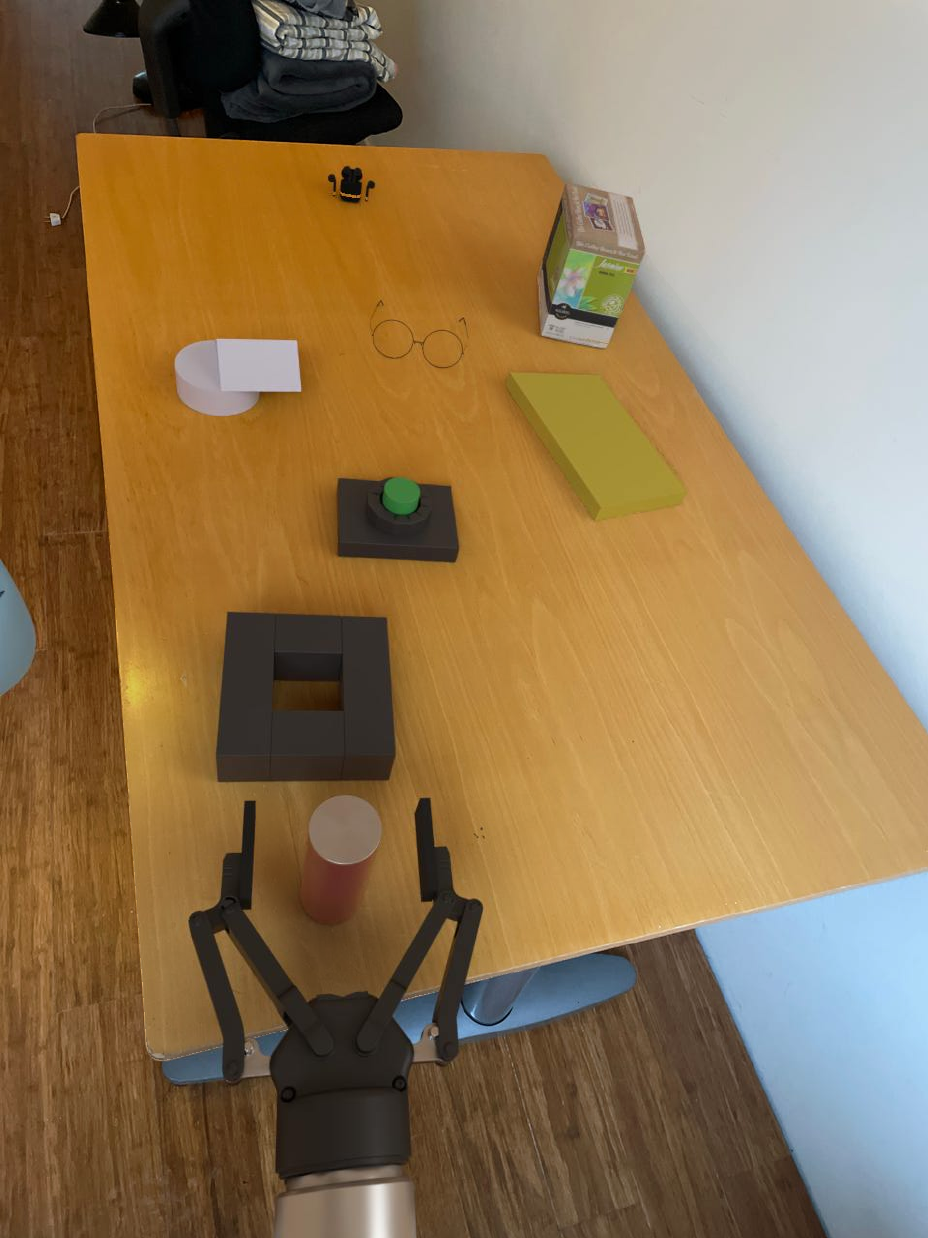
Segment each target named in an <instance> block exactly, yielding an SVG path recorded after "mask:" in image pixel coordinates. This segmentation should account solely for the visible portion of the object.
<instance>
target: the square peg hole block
mask: <svg viewBox="0 0 928 1238" xmlns="http://www.w3.org/2000/svg"><path fill="white" fill-rule="evenodd" d="M225 624H226V625H225V637H224V646H223V647H224V648H223V649H224V650H223V660H222V661H223V663H222V672H221V673H222V674H221V685H220V686H221V687H220V698H219V699H220V700H219V712H218V723H217V726H218V727H217V734H216V735H217V736H216V749H215V750H216V751H215V762H216V774H217V782H218V783H256V782H257V783H267V782H268V783H269V782H340V781H341V782H344V781H345V782H347V781H350V782H351V781H353V782H354V781H389V780H390V777H391V773H392V770H393V765H394V763H395V759H396V756H397V751H396V735H395V721H394V705H393V704H394V703H393V702H394V701H393V689H392V674H391V659H390V658H391V657H390V643H389V628H388V627H389V626H388V617H386V616H364V615H363V616H361V615H360V616H359V615H331V614H305V613H273V612H247V611H245V612H244V611H227V613H226V623H225ZM274 681H279V682H280V681H282V682H283V681H284V682H285V681H286V682H295V681H296V682H338V683H337V685H338V686H337V689H338V710H299V709H298V710H297V709H296V710H294V709H293V710H292V709H291V710H290V709H289V710H288V709H287V710H285V709H284V710H283V709H282V710H280V709H279V710H277V709H275V710H274V709H273V704H274Z"/></svg>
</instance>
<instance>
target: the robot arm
mask: <svg viewBox="0 0 928 1238" xmlns="http://www.w3.org/2000/svg"><path fill="white" fill-rule="evenodd" d="M36 646H37V636H36V630H35V625H34V623H33V619H32V616H31V613H30V612H29V609H28V606H27V605H26V603H25V601H24V598H23V596H22V594H21V592H20V590H19V588H18V587H17V585H16V583H15V581H14V580H13V577H12V575H11V574H10V572H9V571H8V569H7V567H6V565H5V564H4V562H3V560H2V559H1V558H0V697H2V696H3V695H4V694H6V693H7V692H9V691H10V690H11V689H13V688H14V687H15V686H16V685H18V683H19V682H21V680H22V679H23V678H24V676H25V675H26V674H27V673H28V672H29V670H30V667H31V666H32V663H33V660H34V659H35V653H36ZM256 802H257V800H255V799H254V800H244V801H243V816H242V817H243V818H242V836H241V852H226V854H225V855H224V858H223V859H222V871H221V872H222V873H221V885H220V897H219V900H218V902H217V904H215V905H214V906H212V907H210V908H208V909H206V910H195V911H194V912H192V913H191V914H190V915H189V917H188V921H187V922H188V928H189V933H190V938H191V939H192V943H193V946H194V947H193V948H194V950H195V953H196V956H197V957H196V958H197V960H198V963H199V966H200V968H201V973H202V976H203V979H204V982H205V985H206V989H207V992H208V996H209V999H210V1002H211V1006H212V1009H213V1011H214V1014H215V1018H216V1020H217V1025H218V1027H219V1031H220V1033H221V1036H222V1060H221V1063H222V1064H221V1071H222V1078H223V1081H224V1083H225V1084H226V1085H227V1086H229V1087H234V1086H238V1085H240V1083H242V1081H248V1080H256V1079H264V1078H265V1079H266V1078H270V1079H271V1081H272V1083H273V1085H274V1088H275V1091H276V1117H275V1118H276V1119H275V1120H276V1121H275V1122H276V1123H275V1124H276V1125H275V1160H274V1161H275V1163H274V1173H275V1174H277V1175H278V1179H279V1180H281V1181H283V1184H284V1186H285V1191H282V1192H279V1193H278V1194H277V1196H276V1197H275V1198H274V1212H273V1213H274V1217H273V1220H274V1221H273V1238H418V1237H417V1235H418V1234H417V1219H416V1204H415V1203H416V1200H415V1186H414V1181H413V1180H412V1179H411V1177H409V1176H403V1170H402V1169H403V1168H402V1166H406V1165H408V1164H409V1159H410V1158H412V1157H413V1154H412V1138H411V1121H410V1119H411V1118H410V1103H409V1102H410V1101H409V1086H408V1084H409V1081H408V1080H409V1075H410V1072H411V1068H412V1066H413V1065H421V1064H435V1065H436V1066H438V1067H441V1068H444V1067H447V1066H448V1065H449V1064H451V1063H452V1062H453V1060H455V1058H457V1057H458V1055H459V1052H460V1043H459V1042H460V1041H459V1031H458V1028H459V1027H458V1014H459V1010H460V1007H461V1002H462V999H463V998H462V997H463V993H464V989H465V986H466V982H467V977H468V973H469V969H470V965H471V961H472V957H473V953H474V949H475V945H476V941H477V937H478V933H479V930H480V929H479V928H480V925H481V920H482V916H483V914H484V913H483V912H484V904H483V902H482V901H481V900H480V899H478V898H475V897H474V898H466V897H463V896H460V895H459V894H458V893H457V892H456V891H455V888H454V883H453V882H454V880H453V872H452V871H453V870H452V862H451V861H452V860H451V852H450V850H449V848H448V847H447V846H446V845H445V846H444V845H443V846H436V845H435V844H436V843H435V834H434V823H433V812H432V801H431V797H419V799H418V802H417V805H416V807H415V810H414V826H415V827H414V828H415V841H416V856H417V867H418V882H419V894H420V903H431V902H432V906H431V908H430V910H429V911H428V913H427V914H426V916H425V918H424V920H423V922H422V923H421V925H420V927H419V929H418V930H417V932H416V934H415V936H414V937H413V939H412V940H411V943H410V944H409V946H408V948H407V949H406V951H405V953H404V955H403V956H402V958H401V960H400V962H399V964H398V965H397V967H396V969H395V970H394V972H393V974H392V976H391V977H390V978H389V981H388V982H387V983H386V985H385V987H384V989H383V991H382V993H381V995H380V996H379V997H377V996H375V995H373V994H371V993H369V991H368V990H366V991H365V990H364V991H355V992H352V993H349V994H346V995H344V996H342V995H337V994H332V993H321V994H316V996H315V997H313V998H311V999H310V1000H308V1001H307V1000H306V998H305V996H304V995H303V993H302V992H301V991H300V989H299V988H298V987H297V986H296V985H295V984H294V983H293V982H292V980H291V978H290V977H289V975H288V974H287V973H286V971H285V970H284V968H283V967H282V965H281V964H280V962H279V961H278V959H277V958H276V957H275V955H274V953H273V952H272V950H271V949H270V947H269V946H268V945H267V943H266V942H265V940H264V939H263V938H262V936H261V935H260V933H259V932H258V930H257V929H256V927H255V925H254V924H253V923H252V921H251V920H250V918H249V917H248V916H247V914H246V913H245V911H252V909H253V908H252V907H253V888H254V887H253V885H254V884H253V883H254V864H255V863H254V861H255V841H256V840H255V839H256V838H255V837H256V823H257V821H256V819H257V803H256ZM447 920H450V921H453V922H456V925H455V929H454V934H453V937H452V941H451V944H450V948H449V951H448V956H447V959H446V964H445V968H444V971H443V975H442V979H441V982H440V986H439V990H438V994H437V998H436V1002H435V1006H434V1009H433V1014H432V1019H431V1022H430V1023H427V1024H426V1025H425V1026H424V1028H423V1029H422V1030H421V1032H420V1033H421V1034H420V1038H419V1039H418V1041H417V1042H415V1043H413V1042H412V1040H411V1039H410V1037H409V1036H408V1034H406V1032H405V1031H404V1030H403V1028H402V1027H401V1025H400V1024H399V1023H398V1022H397V1020H396V1019H395V1018H394V1017H393V1016H394V1014H395V1012H396V1010H397V1009H398V1007H399V1005H400V1003H401V1002H402V999H404V996H405V994H406V992H407V990H408V989H409V987H410V985H411V984H412V981H413V980H414V978H415V977H416V974H417V973H418V970H420V967H421V965H422V964H423V962H424V960H425V958H426V956H427V955H428V953H429V951H430V950H431V948H432V946H433V944H434V942H435V940H436V938H437V937H438V935H439V933H440V931H441V929H442V928H443V926H444V924H445V922H446V921H447ZM221 932H225V933H226V934H227V936H228V937H229V939H230V940H231V943H232V944H233V945H234V946H235V948H236V950H237V951H238V952H239V954H240V955H241V957H242V959H243V960H244V962H245V963H246V964H247V966H248V968H249V969H250V971H251V972H252V974H253V976H254V977H255V978H256V980H257V981H258V983H259V985H260V986H261V988H262V989H263V990H264V992H265V994H266V995H267V996H268V998H269V999H270V1001H271V1002H272V1004H273V1005H274V1007H275V1009H276V1011H277V1013H278V1015H279V1017H280V1019H282V1021H283V1023H284V1024H285V1025H286V1027H287V1030H286V1031H285V1033H284V1034H283V1036H282V1037H281V1039H280V1040H279V1042H278V1043H277V1045H276V1047H275V1048H274V1049H273V1051H272V1053H271V1055H267V1054H264V1053H263V1052H262V1051H261V1048H260V1046H259V1042H258V1040H257V1039H256V1038H254V1037H249V1036H248V1037H246V1035H245V1027H244V1024H243V1023H244V1022H243V1019H242V1016H241V1012H240V1010H239V1007H238V1003H237V1000H236V998H235V995H234V992H233V989H232V988H233V987H232V985H231V982H230V979H229V976H228V972H227V970H226V968H225V963H224V960H223V957H222V954H221V951H220V949H219V945H218V942H217V939H216V936H215V935H216V934H218V933H221Z"/></svg>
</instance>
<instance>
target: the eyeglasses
mask: <svg viewBox="0 0 928 1238" xmlns="http://www.w3.org/2000/svg"><path fill="white" fill-rule="evenodd" d="M380 303H381V305H382V306H384V302H383V301H382V300H379V301H378V303H377V305H376V307H375V310H374V311H373V314H372V316H371V318H370V319H373V316H374V314H375V312H376V310H377V308H378V307H379V306H380ZM462 320H463V323H464V327H465V331H466V336H467V338H469V335H468V331H467V323H466V319H465V317H464V316H463V317H461V318H460V319H459V320H458V322H459V323H460V322H461V321H462ZM389 321H395V322H398V323H401V324H403V325H404V326H405V327H406V328H407V329H408V330H409V332H410V334H411V337H412V339H414V335H413V332H412V330H411V328H409V326H408V325H407V324H406V323H405V322H403V321H400V320H397V319H385V320H383V321H381V322H380V323H378V324H377V326H375V328H374V330H373V329H372V325H371V322H372V320H370V324H369V325H370V330H371V331H372V333H371V335H370V336H372V343H373V346H374V348H375V349H376V351H377V352H378V353H379V354H380V355H382V356H384V357H385V358H388V359H393V357H392V356H387V355H385V354H384V353H382V352H381V351H380V350H379V349H378V348H377V346H376V344H375V339H374V335H375V332H376V330H377V328H378V327H379V326H380V325H381V324H383V323H385V322H389ZM436 332H448V333H450V334H452V335H454V336H455V337H456V339H458V340H459V343H460V345H461V355H460V356H459V358H458V360H457V361H456V362H454V363H453V364H452V365H449V366H445V367H442V366H437V365H434V364H432V362H430V361H429V360H428V359H427V357H426V355H425V353H424V345H425V342H426V340H427V339H428V337H430V336H431V335H432V334H434V333H436ZM416 343H417V344H420V346H421V347H422V349H421V350H422V355H423V358H424V359H425V360H426V361H427V362H428V364H430V365H431V366H433V367H435V368H439V369H447V368H451V367H454V366H455V365H457V363H459V362H460V360H461V359H462V356H463V355H465V350H466V348H467V346H465V347H464V348H463V343H462V341H461V339H460V338H459V336H457V334H455V333H454V332H452V331H450V330H447V329H437V330H434V331H432V332H431V333H429V334H428V335H427V336H426V337H425V339H424V340H423V342H421V341H418V340H413V342H412V343H411V347H410V349H409V350H408V351H407V352H406V353H405V354H403V355H401V356H398V357H396V359H400V358H401V359H402V358H403V357H406V356H407V355H408V354H409V353H410V352H411V350H412V349H413V346H414V345H416ZM468 343H469V342H467V343H466V345H468Z"/></svg>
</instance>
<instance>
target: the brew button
mask: <svg viewBox="0 0 928 1238" xmlns="http://www.w3.org/2000/svg"><path fill="white" fill-rule="evenodd" d="M413 481H414V480H412V479H409V478H407V477H401V476H399V477H395V478H392V479H390V480H388V481H387V482H386V484H385V486H384V492H383V497H382V503H383V505H384V507H385V508H386V509H387V510H388V511H390V512H392V513H394V514H397V515H407V514H410V513H412V512H414V511H415V510H416V508H417V506H418V501H419V496H420V489H419V487H418V485H417V484H416V483H417V482H416V481H414V482H413ZM415 482H416V483H415Z"/></svg>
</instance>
